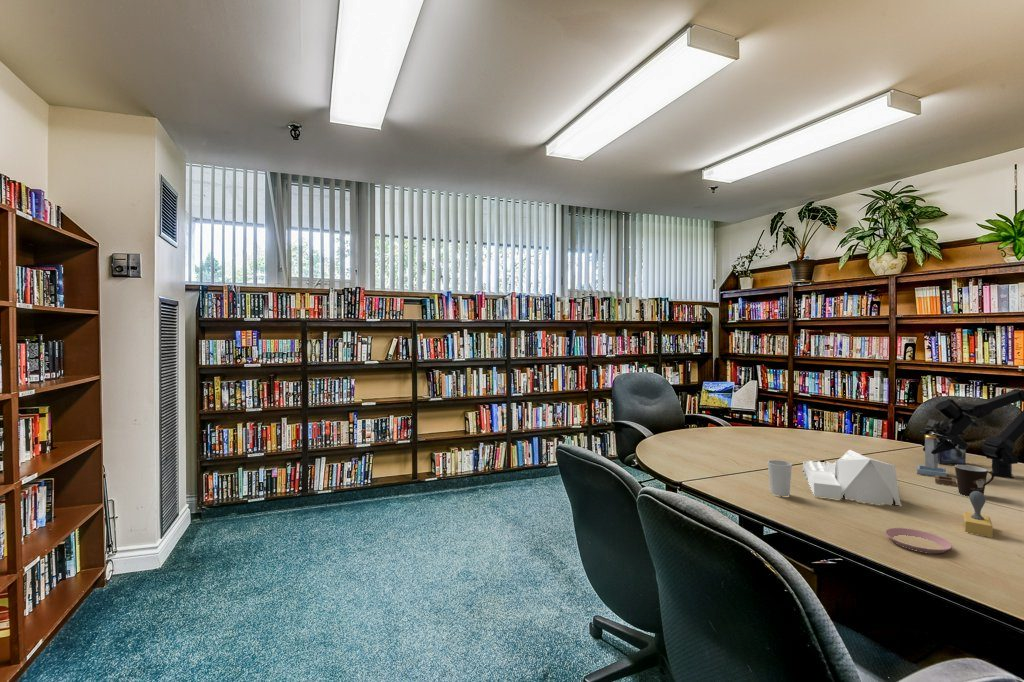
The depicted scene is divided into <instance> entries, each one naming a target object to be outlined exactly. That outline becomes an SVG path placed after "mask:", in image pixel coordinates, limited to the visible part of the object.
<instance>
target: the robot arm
mask: <svg viewBox="0 0 1024 682" xmlns="http://www.w3.org/2000/svg"><path fill="white" fill-rule="evenodd" d="M1017 402H1020V403H1021V402H1022V403H1023V404H1022V411H1021V412H1020V413H1019V414H1018V415H1017V416H1016V417H1015V418H1014V420H1013V421H1011V423H1010V424H1009V425H1008V426H1007V427H1006V428H1004V430H1003V431H1002V432H1001V433H1000V434H999V435H998V436H991V435H989V436H988V437H987V439H985V441H983V442H982V446H981V449H982V452H983V453H984V455H985V457H986V459H990V460H991V470H989V472H992V473H993V475H994V477H999V478H1001V477H1002V478H1007V477H1010V478H1009V479H1015V476H1014V474H1013V465H1015V464H1018V463H1019V461H1020V458H1019V457H1018V456H1017V455H1016V454H1015V453H1014V451H1015V443H1016V442H1017V441H1018V440H1019V439H1020V438H1021V437H1022V436H1023V435H1024V389H1022V388H1021V389H1019V388H1014V389H1011V390H1010V391H1007V392H1004V393H1002V394H999V395H996V396H993V397H991V398H987V399H985V400H979V401H978V400H976V401H971V402H965V403H963V404H962V405H959V404H957V403H956V401H955V400H954V399H952V398H947V399H946V400H942V401H940V402H938V403H936V405H935V410H936V411H938V412H939V414H941V415H942V416H944V418H946V419H948V420H949V421H946V420H940V421H939V420H937V419H936V420H935V419H931V418H928V420H927V422H926V424H925V426H926V427H923V428H921V429H920V431H919V432H920V433H921V434H922V435H924V436H925V435H936V436H938V439H937V446H936V447H935V448H934V449H933V450H932V451H931V453H932V454H936V453H940V452H944V451H948V450H952V449H956V448H955V447H956V446H957V445H959V446H958V448H959V449H962V450H965V449H966V450H967V449H968V448H969V444H968V442H967V441H965V440H964V439H963V438H962V437H963V436H964V435H965V433H964V432H965V431H966V430H967V429H969V428H970V427H976V428H978V427H979V425H978V424H979V423H978V420H976V419H983V418H985V417H987V416H990V415H991V414H992V413H993V411H995V410H997V409H1000V408H1003V407H1004V408H1005V407H1006V406H1009V405H1011V404H1015V403H1017ZM972 418H976V419H972ZM961 436H962V437H961ZM939 440H940V442H938V441H939ZM922 450H923V452H925V445H924V446H923V448H922Z"/></svg>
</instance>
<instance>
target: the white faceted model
mask: <svg viewBox="0 0 1024 682" xmlns="http://www.w3.org/2000/svg"><path fill="white" fill-rule="evenodd" d="M802 471H804V472H803V476H804V475H806V476H805V478H807V479H806V480H807V483H808V482H809V483H808V486H809V485H810V486H809V488H810V487H811V488H810V490H812V491H811V493H812V492H813V493H812V495H813V494H814V496H817V497H826V498H834V499H841V498H843V499H845V498H847V499H854V500H857V501H858V502H865V503H873V504H880V505H879V506H881V505H885V504H893V505H900V506H899V507H901V506H902V507H903V504H902V502H901V501H900V491H899V485H898V477H897V469H896V465H895V464H893V463H892V464H891V463H888V462H885V461H881V460H877V459H875V458H871V457H868V456H864V455H863V454H860V453H858V452H856V451H854V450H852V449H849V448H848V450H847V451H846V452H845V453H844V454H843V455H842V456H841V457H840V458H839V459H835V462H833V463H832V462H829V461H826V462H825V461H824V462H821V461H820V460H818V461H812V459H810V460H804V459H803V461H802ZM843 495H845V496H844V497H845V498H844V497H843ZM814 496H813V497H814ZM893 499H894V500H893ZM841 500H842V499H841ZM894 502H895V504H894ZM865 503H864V504H865ZM882 503H884V504H882ZM873 504H872V505H873Z"/></svg>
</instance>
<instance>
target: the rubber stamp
mask: <svg viewBox="0 0 1024 682" xmlns="http://www.w3.org/2000/svg"><path fill="white" fill-rule="evenodd" d="M968 498H969V501H970V503H971V505H972V507H973V509H974V513H973V512H968V511H964V512H963V514H962V515H963V517H962V518H963V519H962V521H963V528H964V532H965V533H966V532H968V533H967V534H969V533H973V534H972V535H974V534H978V535H977V536H979V535H983V536H982V537H984V536H988V537H987V538H989V537H992V538H993V536H994V535H993V533H994V531H993V526H994V525H993V523H992V520H991V517H990V516H989V515H986V514H981V513H982V512H981V511H982V509H983V507H984V506H985V503H986V502H987V501H986V500H987V499H986V495H985V493H984V494H982V493H981V492H979V491H973V492H971V493H970V496H969V497H968Z"/></svg>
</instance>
